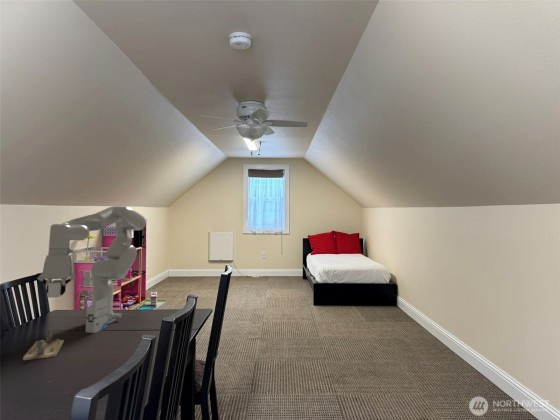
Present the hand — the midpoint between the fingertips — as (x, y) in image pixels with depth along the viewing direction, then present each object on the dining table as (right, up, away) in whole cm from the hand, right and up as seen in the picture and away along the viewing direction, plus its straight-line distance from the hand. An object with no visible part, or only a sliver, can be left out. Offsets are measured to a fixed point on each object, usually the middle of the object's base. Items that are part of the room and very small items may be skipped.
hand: (55, 294), depth 142 cm
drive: (0, -1, 0) cm, 1 cm away
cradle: (+4, -19, -12) cm, 23 cm away
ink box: (+10, -21, +14) cm, 27 cm away
